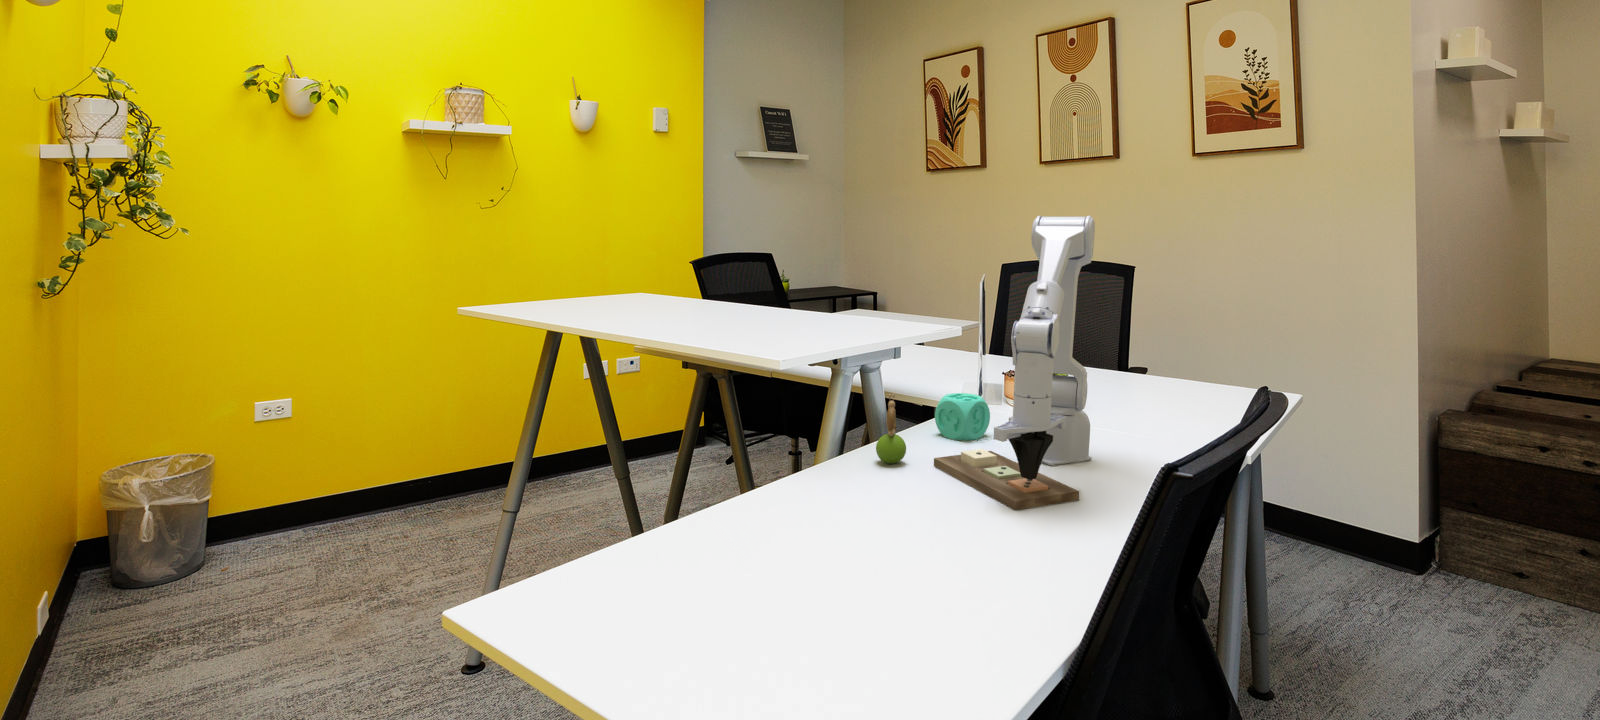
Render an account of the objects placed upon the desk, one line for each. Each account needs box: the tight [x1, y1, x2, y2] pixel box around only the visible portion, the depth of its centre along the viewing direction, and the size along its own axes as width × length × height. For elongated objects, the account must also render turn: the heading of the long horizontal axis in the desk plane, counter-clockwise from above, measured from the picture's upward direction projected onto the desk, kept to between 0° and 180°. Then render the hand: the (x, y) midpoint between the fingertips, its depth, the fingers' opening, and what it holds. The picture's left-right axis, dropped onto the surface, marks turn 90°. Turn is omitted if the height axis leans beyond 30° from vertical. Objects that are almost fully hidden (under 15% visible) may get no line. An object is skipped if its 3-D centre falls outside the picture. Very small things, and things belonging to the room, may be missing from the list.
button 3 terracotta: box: [1008, 478, 1048, 493], centre depth 132 cm, size 4×4×2 cm
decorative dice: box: [934, 392, 991, 442], centre depth 167 cm, size 8×8×8 cm
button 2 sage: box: [983, 466, 1021, 480], centre depth 138 cm, size 4×4×2 cm
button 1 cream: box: [960, 448, 997, 468], centre depth 144 cm, size 4×4×2 cm
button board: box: [933, 450, 1080, 511], centre depth 138 cm, size 12×24×2 cm, turn 21°
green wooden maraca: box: [875, 393, 907, 465], centre depth 149 cm, size 5×6×12 cm
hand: (1028, 477), depth 131 cm, fingers closed
